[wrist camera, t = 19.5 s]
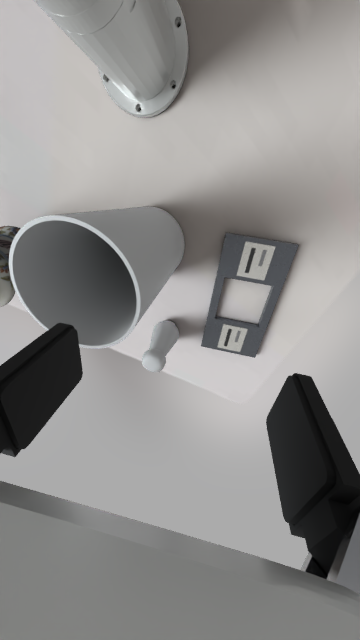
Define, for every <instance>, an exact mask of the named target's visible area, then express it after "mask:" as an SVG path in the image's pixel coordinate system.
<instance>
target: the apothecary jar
mask: <svg viewBox="0 0 360 640" xmlns="http://www.w3.org/2000/svg"><path fill="white" fill-rule="evenodd" d="M20 229H21V228H18V227H13V226H3V227H0V307H2V306H4V305H6V304H7V303H9V302H10V301H11V299H12V298H13V296H14V294H15V292H16V291H15V289H14V286H13V283H12V280H11V276H10V270H9V253H10V248H11V244H12V242H13V239H14V237H15V236H16V234H17V233H18V231H19V230H20Z"/></svg>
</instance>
